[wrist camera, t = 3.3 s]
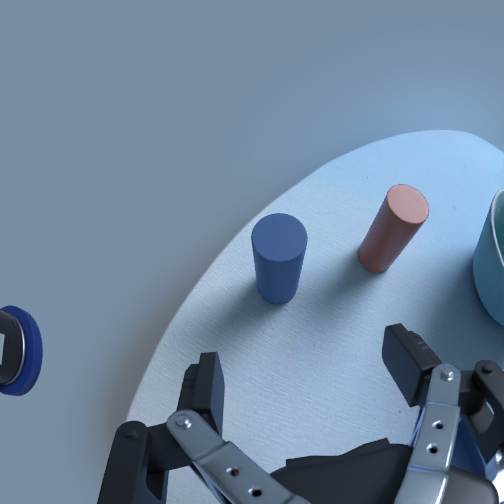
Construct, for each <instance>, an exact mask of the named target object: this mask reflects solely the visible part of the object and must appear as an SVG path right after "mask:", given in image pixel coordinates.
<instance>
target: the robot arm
mask: <svg viewBox="0 0 504 504" xmlns="http://www.w3.org/2000/svg"><path fill="white" fill-rule="evenodd" d="M26 357H27V340H26V334H25V331H24V328H23V325H22V324H21V322H20V321H19V319H18V318H17V317H15V316H14V315H12V314H9V313H5V312H3V311H1V310H0V384H4V385H10V384H13V383H14V382H16V381H17V380H18V378H19V377H20V376H21V374H22V372H23V369H24V366H25V362H26ZM382 359H383V362H384V364H385V366H386V367H387V369H388V371H389V372H390V374H391V376H392V377H393V379H394V381H395V382H396V384H397V386H398V387H399V389H400V391H401V393H402V394H403V396H404V398H405V399H406V401H407V403H408V405H409V406H410V408H411V407H414V406H417V405H419V406H420V410H419V413H418V417H417V420H416V423H415V427H414V430H413V433H412V436H411V439H410V442H409V445H404V444H389V441H388V439H387V438H384V439H380V440H377V441H374V442H370V443H366V444H363V445H361V446H359V447H357V448H355V449H353V450H351V451H349V452H347V453H345V454H343V455H339V456H307V457H300V458H294V459H287V460H286V466H285V467H283V468H280V469H278V470H276V471H274V472H272V473H270V474H267V473H266V472H265V471H264V470H263V469H262V468H260V467H259V466H258V465H257V464H256V463H255V462H253V461H252V460H251V459H250V458H249V457H248V456H247V455H246V454H244V453H243V452H242V451H241V450H240V449H239V448H238V447H237V446H236V445H235V444H234V443H232V442H231V441H227V442H226V441H224V440H223V439H222V425H223V407H224V390H225V385H224V377H223V372H222V368H221V364H220V360H219V356H218V353H217V352H207V353H201V355H200V360H199V364H191V365H190V366H189V367H188V369H187V370H186V371H185V375H184V379H183V383H182V388H181V392H180V397H179V401H178V406H177V410H176V412H174V413H173V414H172V415H170V416H169V418H168V420H167V422H165V423H163V424H160V425H155V426H151V427H146V426H145V424H143V423H142V422H140V421H128V422H126V423H123V424H122V425H121V426H119V428H118V429H117V431H116V434H115V437H114V441H113V444H112V448H111V451H110V455H109V458H108V462H107V466H106V470H105V473H104V478H103V481H102V485H101V490H100V494H99V498H98V502H97V504H166V497H167V486H168V475H169V470H172V469H177V468H181V467H185V466H189V467H190V468H191V469H192V471H193V472H194V473H195V474H196V475H197V477H198V478H199V479H200V480H201V481H202V482H203V484H204V485H205V486H206V487H207V488H208V489H209V490H210V491H211V493H212V494H213V495H214V496H215V498H216V499H217V500H218V501H219V503H220V504H504V372H503V370H502V369H501V368H500V367H499V366H498V365H497V364H496V363H495V362H493V361H491V360H481V361H479V362H478V363H477V364H476V366H475V368H474V370H470V371H459V369H458V368H457V367H455V366H454V365H451V364H443V363H442V362H441V361H440V359H439V358H438V357H437V356H436V354H435V353H434V352H433V351H432V350H431V348H429V346H428V345H427V344H426V343H425V341H424V340H423V339H422V338H421V337H420V335H418V334H416V333H414V332H413V331H407V329H406V328H405V327H404V326H403V325H402V324H401V323H399V324H394V325H390V326H386V328H385V332H384V340H383V347H382ZM486 402H488V403H489V405H490V406H491V408H492V409H493V412H494V415H493V413H492V412H491V410H490V409H489V407H488V406H487V404H486ZM459 415H460V417H461V419H462V420H463V422H464V424H465V426H466V427H467V429H468V431H469V433H470V435H471V436H472V438H473V440H474V442H475V444H476V445H477V447H478V449H479V451H480V453H481V455H482V457H483V459H484V461H485V462H486V464H487V465H486V467H485V476H486V477H485V478H484V477H482V476H479V475H477V474H474V473H472V472H469V471H467V470H464V469H462V468H459V467H457V466H454V465H452V464H450V462H451V458H452V454H453V449H454V444H455V439H456V434H457V428H458V422H459Z"/></svg>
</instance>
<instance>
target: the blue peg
mask: <svg viewBox="0 0 504 504" xmlns="http://www.w3.org/2000/svg"><path fill="white" fill-rule="evenodd" d="M307 239H308V237H307V232H306V229H305V227H304V226H303V224H302V223H301V222H300V221H299V220H298V219H296V218H295V217H293V216H291V215H288V214H282V213H276V214H271V215H268V216H266V217H264V218H262V219H261V220H260V221H259V222H258V223H257V224H256V225H255V227H254V229H253V231H252V236H251V240H252V248H253V255H254V263H255V271H256V278H257V286H258V291H259V293H260V295H261V296H262V298H263V299H265V300H266V301H268V302H270V303H273V304H282V303H285V302H287V301H289V300H290V299H291V298H292V297H293V296H294V295H295V293H296V290H297V286H298V282H299V277H300V273H301V269H302V264H303V259H304V255H305V250H306V246H307Z"/></svg>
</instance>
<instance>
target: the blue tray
mask: <svg viewBox="0 0 504 504" xmlns="http://www.w3.org/2000/svg"><path fill="white" fill-rule="evenodd" d="M408 445H409V444H408ZM450 464H452V465H454V466H457V467H459V468H462V469H464V470H467V471H469V472H472V473H474V474H477V475H479V476H482V477H484V478H485V477H486V476H485V467H486V465H487V464H486V462H485V461H484V459H483V457H482V455H481V453H480V451H479V449H478V447H477V445H476V444H475V442H474V440H473V438H472V436H471V435H470V433H469V431H468V429H467V427H466V426H465V424H464V422H463V420H462V419H461V417H460V415H459V422H458V428H457V434H456V439H455V444H454V449H453V454H452V458H451V462H450Z"/></svg>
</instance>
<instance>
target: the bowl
mask: <svg viewBox="0 0 504 504" xmlns="http://www.w3.org/2000/svg"><path fill="white" fill-rule="evenodd" d="M473 275H474V281H475V285H476V289H477V292H478V294H479V297H480V299H481V302H482V303H483V305H484V307H485V309H486V310H487V311H488V313H489V314H490V315H491V317H492V318H493V319H494V320H495V321H497V322H498V323H499V324H501V325H503V326H504V188H502V189H500V190H499V191H498V192H497V193H496V195H495V196H494V198H493V200H492V203H491V206H490V209H489V212H488V215H487V218H486V221H485V224H484V227H483V230H482V233H481V235H480V238H479V241H478V244H477V247H476V250H475V253H474V258H473Z"/></svg>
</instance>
